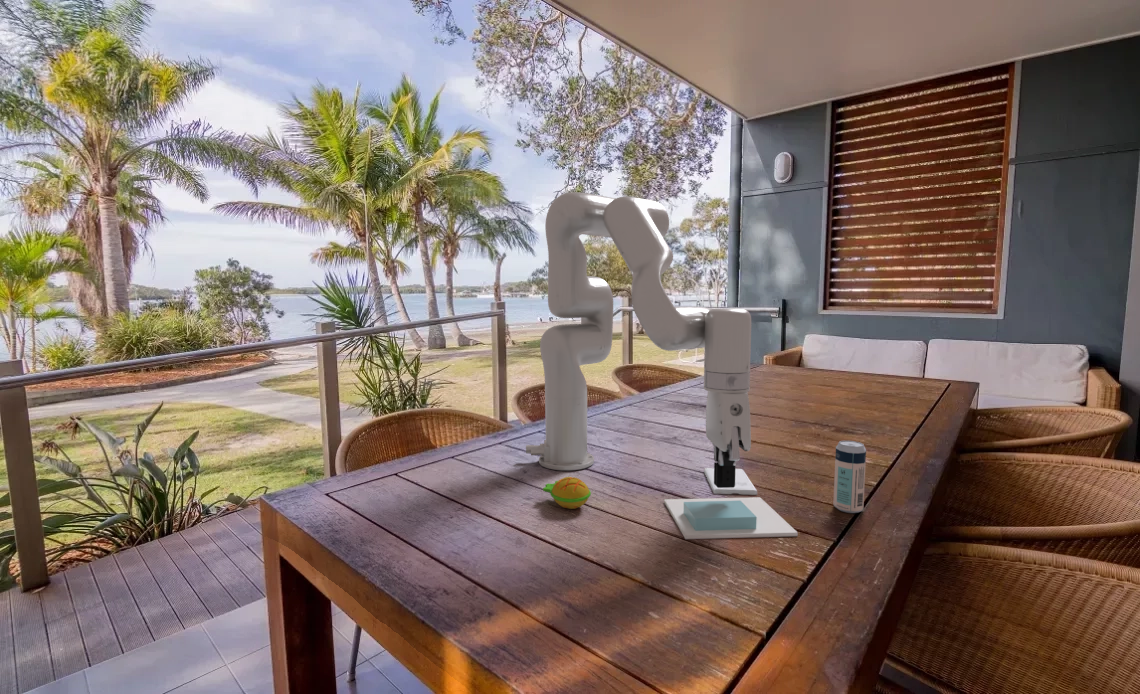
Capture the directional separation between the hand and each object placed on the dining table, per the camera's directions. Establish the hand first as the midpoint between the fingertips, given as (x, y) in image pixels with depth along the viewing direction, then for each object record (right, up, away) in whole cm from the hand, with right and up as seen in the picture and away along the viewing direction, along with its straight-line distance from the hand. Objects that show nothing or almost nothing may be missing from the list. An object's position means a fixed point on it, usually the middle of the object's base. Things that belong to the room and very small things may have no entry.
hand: (724, 485), depth 94 cm
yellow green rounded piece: (-27, -5, +5) cm, 28 cm away
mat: (0, -5, -1) cm, 5 cm away
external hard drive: (+6, -4, +17) cm, 18 cm away
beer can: (+23, -5, +3) cm, 24 cm away
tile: (-2, -4, 0) cm, 4 cm away
